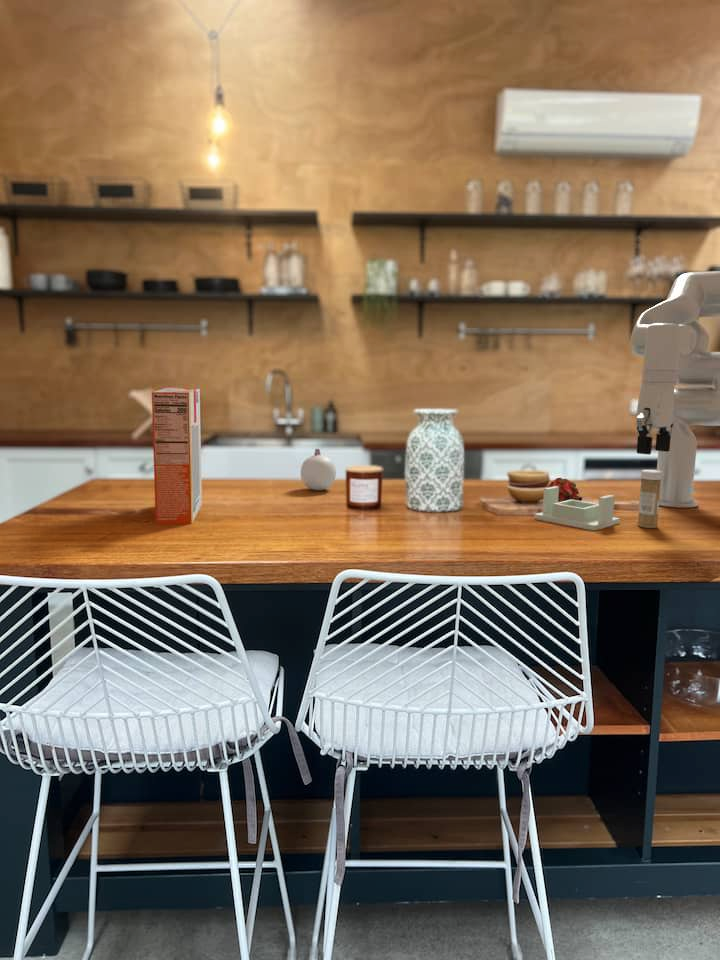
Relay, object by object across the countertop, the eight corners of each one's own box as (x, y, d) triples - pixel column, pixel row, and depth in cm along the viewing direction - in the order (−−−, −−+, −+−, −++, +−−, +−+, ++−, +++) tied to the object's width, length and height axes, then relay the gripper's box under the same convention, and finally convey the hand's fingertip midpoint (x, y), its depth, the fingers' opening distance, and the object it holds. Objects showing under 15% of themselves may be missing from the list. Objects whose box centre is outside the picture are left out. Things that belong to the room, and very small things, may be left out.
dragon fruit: (557, 508, 200) (569, 524, 188) (534, 490, 198) (544, 505, 187) (578, 484, 198) (591, 499, 186) (555, 466, 196) (567, 480, 185)
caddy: (560, 512, 186) (562, 484, 185) (619, 523, 175) (621, 493, 174) (534, 518, 178) (536, 490, 177) (594, 530, 167) (596, 500, 166)
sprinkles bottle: (661, 527, 172) (666, 471, 169) (649, 529, 169) (654, 472, 167) (644, 523, 175) (649, 468, 173) (632, 525, 173) (637, 469, 171)
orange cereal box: (170, 504, 188) (167, 387, 183) (201, 503, 189) (199, 388, 184) (155, 524, 166) (151, 392, 161) (191, 523, 167) (188, 392, 162)
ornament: (304, 486, 218) (304, 446, 216) (338, 487, 216) (338, 447, 214) (297, 492, 208) (297, 450, 206) (332, 493, 206) (332, 452, 204)
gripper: (659, 378, 175) (653, 448, 178) (626, 377, 163) (620, 453, 166) (691, 378, 170) (684, 451, 172) (659, 378, 158) (652, 456, 160)
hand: (653, 452), depth 169 cm, fingers open, 9 cm apart
